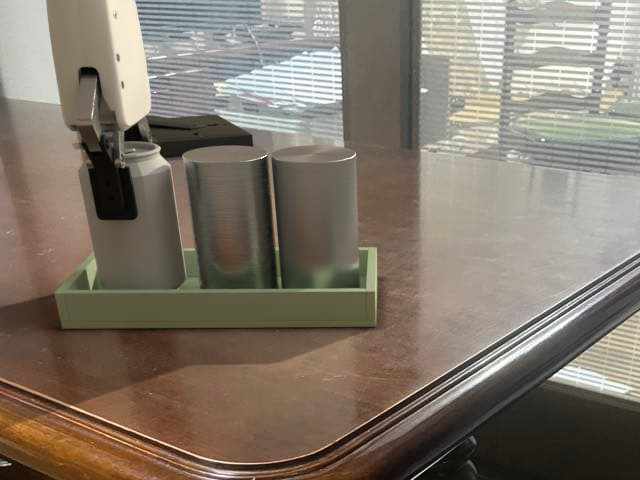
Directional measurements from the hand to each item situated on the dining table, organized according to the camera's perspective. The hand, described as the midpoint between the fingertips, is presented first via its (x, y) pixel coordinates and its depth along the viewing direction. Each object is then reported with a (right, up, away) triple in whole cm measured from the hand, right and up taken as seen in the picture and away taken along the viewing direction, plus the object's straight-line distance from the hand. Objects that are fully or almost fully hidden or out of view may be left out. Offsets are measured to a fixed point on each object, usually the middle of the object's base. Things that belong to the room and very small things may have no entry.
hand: (130, 205), depth 74 cm
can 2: (+8, -6, +5) cm, 12 cm away
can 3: (+16, -6, +5) cm, 18 cm away
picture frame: (-12, +36, +67) cm, 77 cm away
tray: (+7, -7, +5) cm, 11 cm away
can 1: (0, -6, +4) cm, 8 cm away
